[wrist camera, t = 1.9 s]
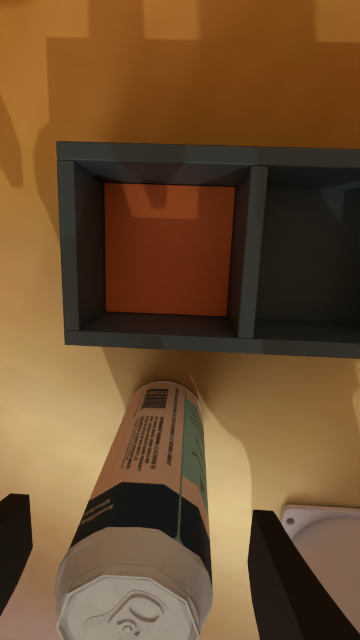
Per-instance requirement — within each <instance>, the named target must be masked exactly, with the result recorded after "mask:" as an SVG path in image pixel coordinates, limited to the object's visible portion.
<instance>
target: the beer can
mask: <svg viewBox="0 0 360 640" xmlns="http://www.w3.org/2000/svg"><path fill="white" fill-rule="evenodd" d="M55 595H56V609H57V618H58V620H57V625H56V629H57V631H58V633H59V635H60V637H61V639H62V640H198V639H199V636H200V631H201V628H202V627H203V626H204V624H205V623H206V621H207V618H208V615H209V613H210V610H211V606H212V598H213V589H212V571H211V553H210V536H209V518H208V500H207V483H206V465H205V447H204V430H203V414H202V410H201V406H200V403H199V401H198V400H197V398H196V397H195V395H194V394H193V393H192V392H190V391H189V390H188V389H187V388H185V387H183V386H182V385H180V384H177V383H174V382H169V381H157V382H152V383H149V384H147V385H144V386H143V387H141V388H140V389H138V390H137V391H136V392H135V393H134V394H133V395H132V397H131V398H130V400H129V402H128V405H127V408H126V412H125V415H124V417H123V419H122V422H121V424H120V427H119V429H118V432H117V434H116V436H115V439H114V441H113V444H112V446H111V449H110V451H109V453H108V456H107V458H106V461H105V463H104V466H103V468H102V470H101V473H100V475H99V478H98V480H97V483H96V485H95V487H94V490H93V492H92V495H91V497H90V500H89V502H88V504H87V507H86V509H85V512H84V514H83V517H82V519H81V521H80V524H79V526H78V529H77V531H76V534H75V536H74V538H73V541H72V543H71V546H70V548H69V550H68V552H67V553H66V555H65V557H64V559H63V560H62V562H61V564H60V567H59V570H58V573H57V577H56V585H55Z"/></svg>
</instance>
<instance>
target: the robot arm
mask: <svg viewBox="0 0 360 640" xmlns="http://www.w3.org/2000/svg"><path fill="white" fill-rule="evenodd" d="M288 518H292V519H290V520H287V519H288ZM32 548H33V543H32V529H31V515H30V501H29V495H26V494H9V495H8V496H7V497H5V498H4V499H3V500H1V501H0V616H1V614H2V612H3V610H4V608H5V607H6V605H7V603H8V601H9V599H10V597H11V595H12V593H13V592H14V590H15V588H16V586H17V584H18V581H19V579H20V577H21V574H22V572H23V570H24V568H25V565H26V563H27V560H28V558H29V555H30V553H31V550H32ZM248 571H249V579H250V588H251V596H252V603H253V608H254V613H255V618H256V623H257V627H258V632H259V637H260V640H360V509H358V508H342V507H326V506H309V505H293V504H289V505H286V506H284V507H283V509H282V515H281V522H280V521H279V519H278V517H277V516H276V514H275V513H274V512H273V511H266V510H253V516H252V525H251V535H250V544H249V554H248Z"/></svg>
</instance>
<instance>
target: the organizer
mask: <svg viewBox="0 0 360 640" xmlns="http://www.w3.org/2000/svg"><path fill="white" fill-rule="evenodd" d="M56 148H57V159H58V160H57V178H58V200H59V223H60V246H61V269H62V292H63V315H64V338H65V345H79V346H100V347H121V348H142V349H164V350H185V351H206V352H227V353H249V354H270V355H291V356H312V357H334V358H355V359H360V149H333V148H296V147H258V146H221V145H184V144H147V143H110V142H73V141H57V142H56Z"/></svg>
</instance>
